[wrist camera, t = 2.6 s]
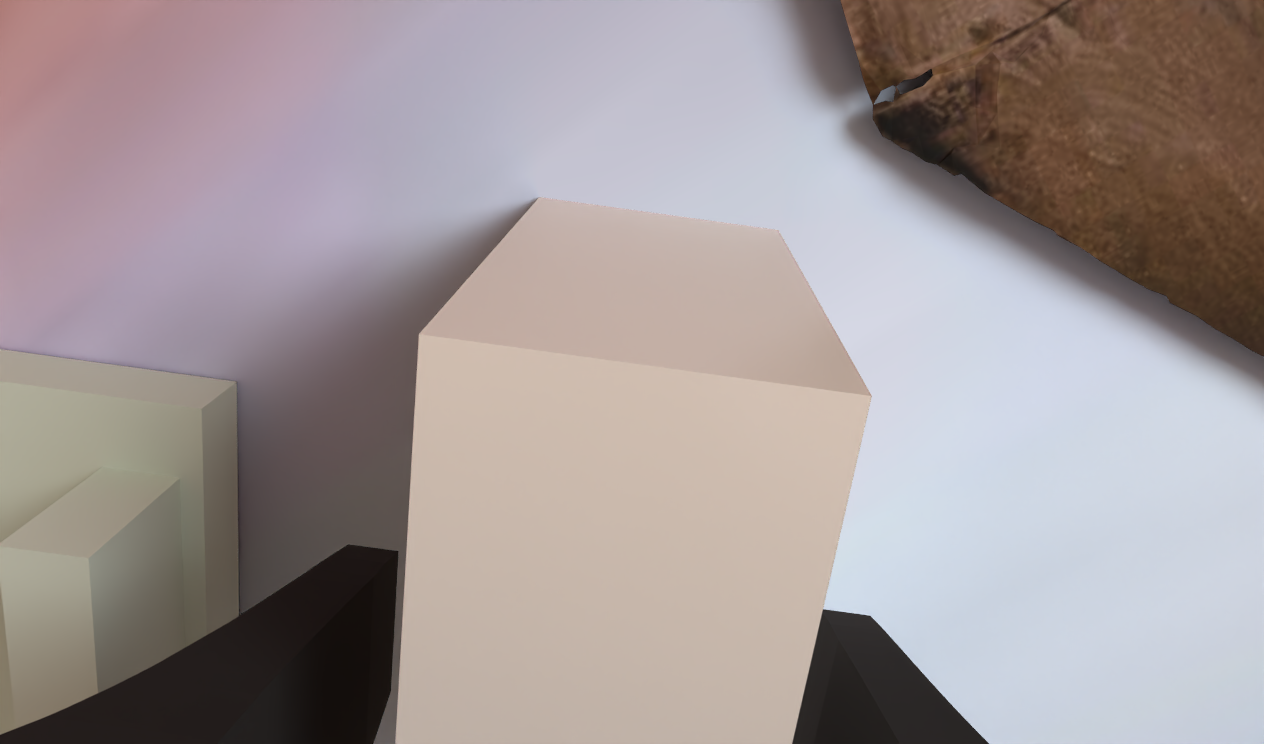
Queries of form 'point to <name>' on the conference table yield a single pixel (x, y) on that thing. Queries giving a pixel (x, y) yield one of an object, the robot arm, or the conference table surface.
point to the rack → (109, 524)
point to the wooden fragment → (1096, 128)
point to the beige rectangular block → (623, 487)
